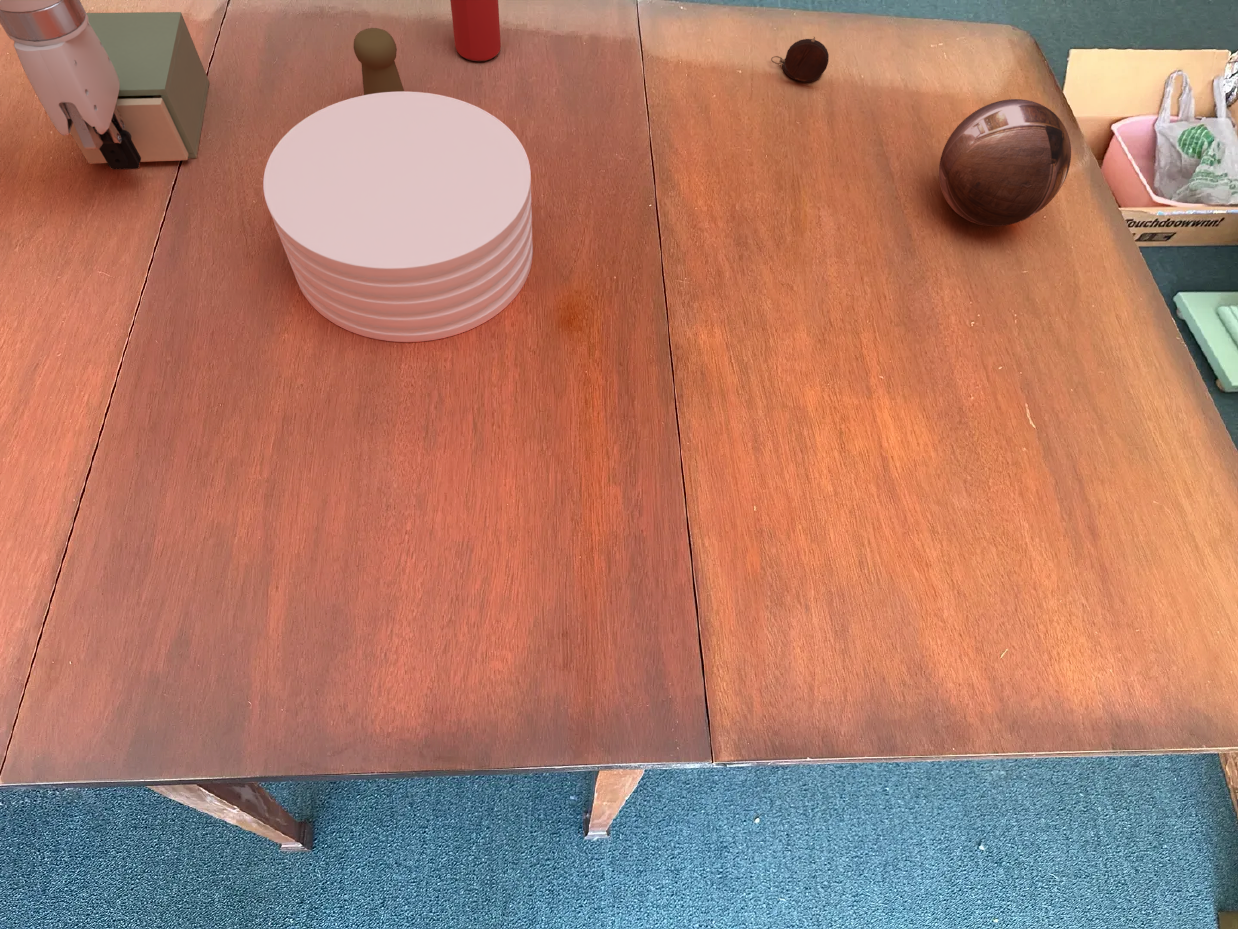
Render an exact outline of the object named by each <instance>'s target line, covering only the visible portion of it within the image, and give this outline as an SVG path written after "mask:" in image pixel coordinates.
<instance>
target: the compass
mask: <svg viewBox="0 0 1238 929" xmlns="http://www.w3.org/2000/svg"><path fill="white" fill-rule="evenodd" d="M829 54H830V53H829V50H828V49H827V47H826V46H825V45H824V44H823V43H822V42H821V41H820V40H816V36H813V38H804V39H799V40H797V41H795V42H793V43H792V44H791V46H789V48H788V49H787V51H786V54H785V58H782V57H781V56H778V55H773V56H772V57H771V58H770V61H771V62H772V63H773V64H776V65H781V64H782V66H781V68H782V70H783V72H784V74H786V76H787V77H789V78H790V79H792V80H794V81H797V82H802V83H811V82H815V81H817V80H819V79H820V78H821V77H822V75H823V74H824V72H825V71H826V70H827V68H828V65H829V59H830V58H829V57H830V56H829ZM774 58H778V59H779V61H778V62H776V61H774V60H773V59H774Z"/></svg>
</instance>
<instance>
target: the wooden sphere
mask: <svg viewBox="0 0 1238 929" xmlns="http://www.w3.org/2000/svg"><path fill="white" fill-rule="evenodd" d="M1069 135H1070V134H1069V132H1068V130H1067V128H1066V126H1065V124H1064V123H1063V121H1062V120H1061V118H1060V117H1059V116H1058V115H1057V114H1056V113H1055V112H1053V111H1052V110H1051V109H1050V108H1048V107H1047V106H1045V105H1043V104H1041V103H1038V102H1036V101H1034V100H1033V101H1032V100H1029V99H1022V98H1021V99H1020V98H1010V99H1002V100H998V101H995V102H991V103H989V104H986V105H985V106H982V107H980V108H978V109H977V110H975V111H973V112H972V113H970V114H969V115H968V116H966V117H965V118H964V119H963V120H962V121H961V122H960V123H959V124H957V126H956V127H955V128H954V130H953V131H952V133H951V134H950V136H949V137H948V139H947V141H946V143H945V144H944V147H943V149H942V152H941V156H940V160H939V164H938V166H939V167H938V180H939V187H940V190H941V192H942V195H943V197H944V199H945V202H946V203H947V204H948V206H950V208H951V209H952V211H954V212H955V213H956V214H957V215H958V216H960V217H962V219H965V220H966V221H968V222H970V223H973V224H976V225H980V226H985V227H1005V226H1009V225H1014V224H1017V223H1021V222H1022V221H1025V220H1027V219H1029V218H1031V217H1032V216H1034V215H1036V214H1037V213H1039V212H1040V211H1041V210H1043V209H1044V208H1045V207H1046V206H1048V205H1049V204H1050V202H1052V200H1053V199H1054V198H1055V197H1056V195H1058V193H1059V191H1060V190H1061V189H1062V187H1063V185H1064V183H1065V181H1066V179H1067V176H1068V174H1069V172H1070V171H1069V170H1070V167H1071V162H1072V144H1071V138H1070V136H1069Z"/></svg>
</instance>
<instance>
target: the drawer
mask: <svg viewBox="0 0 1238 929" xmlns="http://www.w3.org/2000/svg"><path fill="white" fill-rule="evenodd" d="M152 96H153V98H141V99H117V102H116V105H117V108H118V110H119V112H120V115H121V117H122V119H123V121H124V124H125V129H124V130H122V131H127V133H128V134H129V136H130V138H131V140H132V142H133V144H134V145H135V147H136V149H137V151H138V153H139V155H140V157H141V161H140V163H146V162H172V161H188V152H187V150H186V148H185V146H184V144H183V141H182V139H181V137H180V135H179V133H178V131H177V129H176V127H175V125H174V122H173V120H172V118H171V116H170V114H169V112H168V110H167V108H166V105H165V103H164V101H163V99H162V98H161V95H152ZM95 129H96V128H95ZM70 135H71V137H72V138H73V140H74V141H75V144H76V145H77V146H78V148H79V151H80V152H81V153H82V155H83V156H84V158H85V160H86V161H87V163H88V164H108V163H107V161H106V160H105V158H104V156H103V155H102V153H101V151H100V150H99V149H97V150H86V149H85V148H84V146H83V143H82V141H81V139H80V137H79V135H78V133H77V130H76V128H75V126H74V124H72V127H71V131H70Z"/></svg>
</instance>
